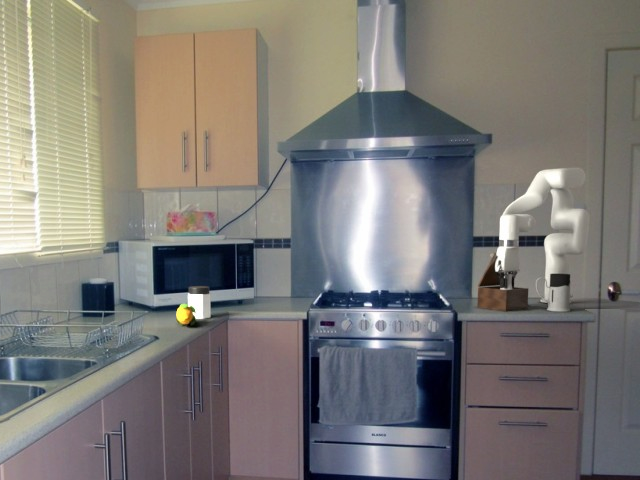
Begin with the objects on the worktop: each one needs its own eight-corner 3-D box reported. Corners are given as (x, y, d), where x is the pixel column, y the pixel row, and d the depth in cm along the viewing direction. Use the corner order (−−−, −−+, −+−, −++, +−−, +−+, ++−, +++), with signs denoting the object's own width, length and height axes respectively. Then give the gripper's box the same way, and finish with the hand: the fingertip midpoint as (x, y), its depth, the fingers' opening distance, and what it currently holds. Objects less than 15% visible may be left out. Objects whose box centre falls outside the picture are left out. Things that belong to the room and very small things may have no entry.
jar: (199, 315, 264) (199, 285, 262) (214, 317, 258) (214, 286, 257) (183, 317, 257) (183, 287, 255) (199, 319, 252) (198, 288, 250)
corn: (194, 300, 247) (196, 306, 227) (196, 320, 248) (198, 328, 228) (175, 302, 246) (174, 308, 227) (176, 322, 247) (176, 330, 227)
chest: (527, 309, 277) (528, 288, 276) (505, 311, 270) (506, 290, 269) (499, 305, 289) (499, 285, 288) (477, 307, 283) (478, 287, 282)
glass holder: (574, 311, 268) (576, 274, 266) (539, 311, 268) (541, 275, 266) (564, 308, 277) (565, 273, 275) (530, 309, 277) (531, 273, 275)
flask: (510, 297, 281) (514, 274, 280) (516, 299, 274) (521, 275, 273) (493, 295, 281) (497, 272, 280) (499, 297, 274) (503, 273, 273)
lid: (516, 255, 280) (508, 249, 283) (494, 256, 273) (486, 249, 277) (500, 285, 288) (492, 278, 292) (478, 286, 281) (470, 280, 285)
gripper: (514, 243, 282) (512, 286, 284) (487, 244, 274) (486, 288, 276) (529, 244, 276) (527, 287, 278) (502, 244, 268) (500, 289, 270)
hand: (506, 287), depth 277 cm, fingers closed on flask, 3 cm apart
